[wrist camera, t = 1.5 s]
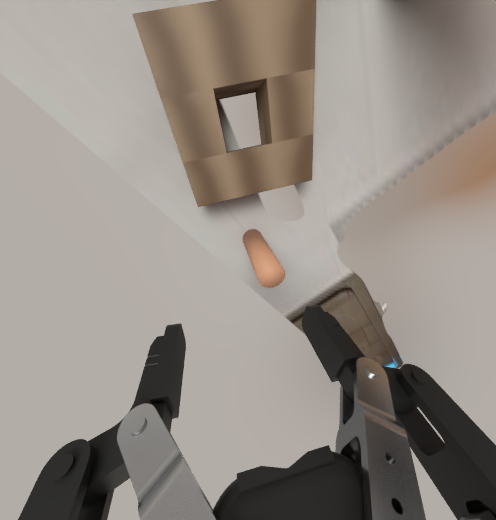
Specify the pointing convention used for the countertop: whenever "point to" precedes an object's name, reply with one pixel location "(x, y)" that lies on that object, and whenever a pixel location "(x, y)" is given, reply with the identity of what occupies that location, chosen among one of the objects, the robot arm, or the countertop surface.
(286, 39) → the socket block
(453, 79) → the countertop surface
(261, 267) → the peg
